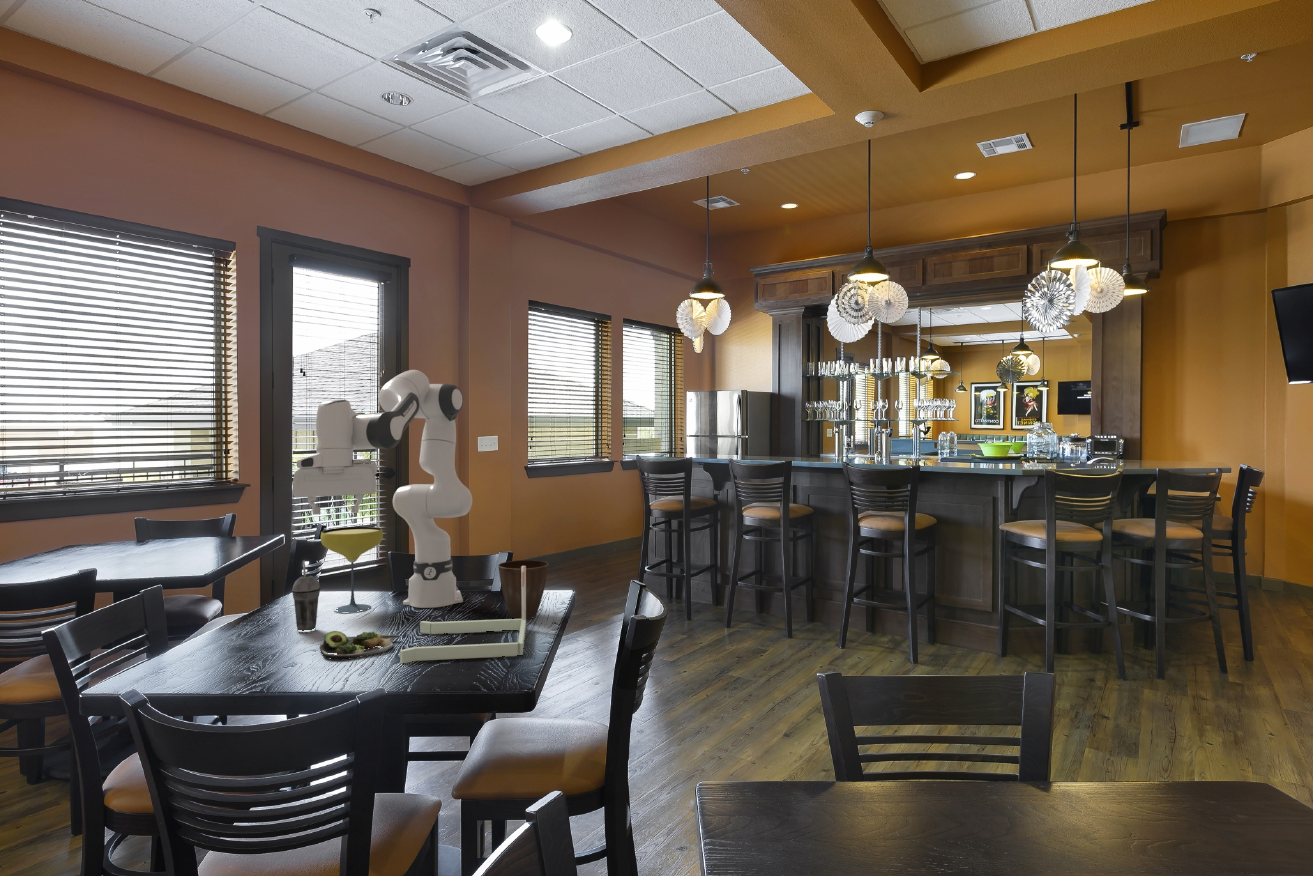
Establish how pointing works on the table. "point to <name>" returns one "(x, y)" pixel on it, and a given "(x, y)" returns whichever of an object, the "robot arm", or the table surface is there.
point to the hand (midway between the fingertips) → (335, 513)
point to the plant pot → (513, 585)
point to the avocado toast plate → (354, 644)
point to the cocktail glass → (352, 551)
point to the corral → (469, 627)
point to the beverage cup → (306, 601)
